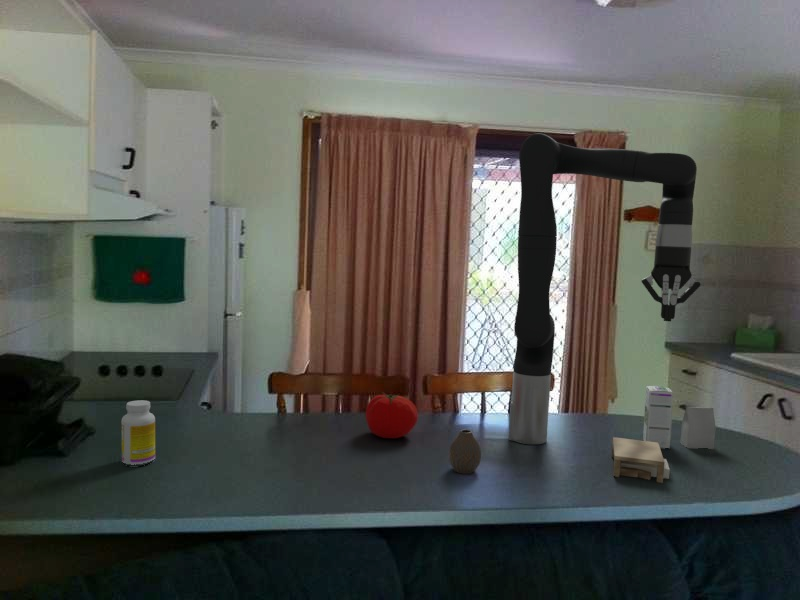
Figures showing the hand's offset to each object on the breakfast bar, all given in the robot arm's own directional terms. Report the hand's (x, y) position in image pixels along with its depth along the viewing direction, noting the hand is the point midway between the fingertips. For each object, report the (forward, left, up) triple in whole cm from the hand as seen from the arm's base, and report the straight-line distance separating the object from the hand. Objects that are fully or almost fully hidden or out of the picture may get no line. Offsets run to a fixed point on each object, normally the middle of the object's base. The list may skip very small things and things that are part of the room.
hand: (667, 320), depth 148 cm
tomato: (-63, -7, -33) cm, 72 cm away
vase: (-41, -24, -33) cm, 58 cm away
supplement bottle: (-107, -46, -33) cm, 121 cm away
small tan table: (-5, -8, -33) cm, 34 cm away
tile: (-3, -8, -34) cm, 35 cm away
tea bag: (+11, +16, -33) cm, 39 cm away
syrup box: (+1, +13, -33) cm, 36 cm away
